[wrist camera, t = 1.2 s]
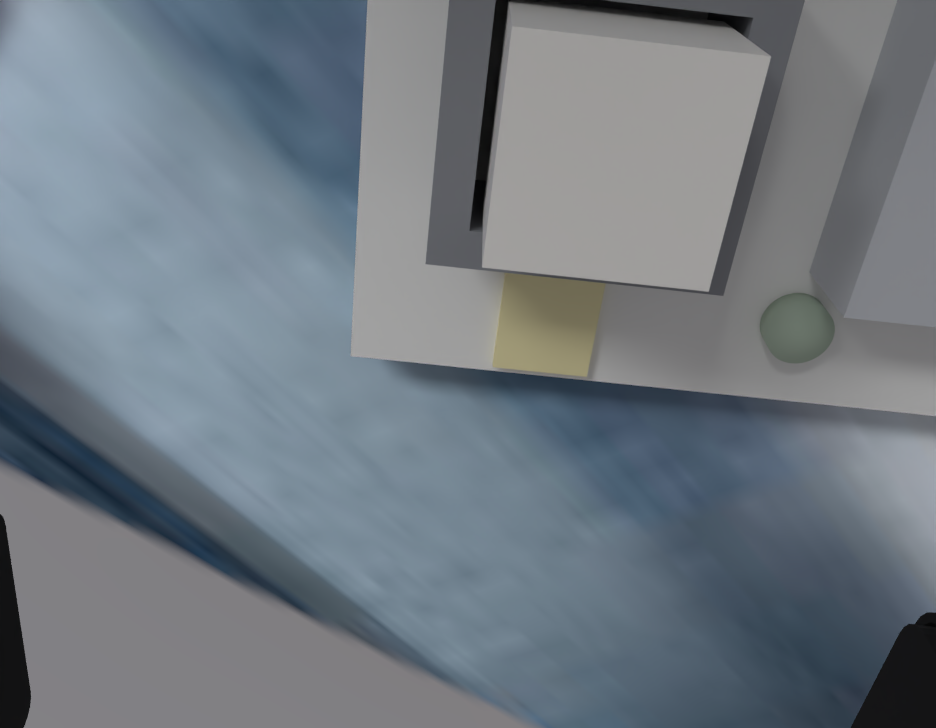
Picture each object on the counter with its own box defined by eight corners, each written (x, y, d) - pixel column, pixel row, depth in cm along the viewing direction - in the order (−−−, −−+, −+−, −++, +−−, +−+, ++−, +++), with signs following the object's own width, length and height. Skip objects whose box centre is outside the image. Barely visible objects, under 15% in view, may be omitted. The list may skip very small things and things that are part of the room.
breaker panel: (393, -343, 21) (362, -405, 16) (1363, -216, 22) (1632, -236, 17) (358, 326, 30) (331, 426, 25) (1050, 398, 31) (1162, 509, 26)
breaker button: (508, -4, 20) (511, 26, 17) (723, 21, 21) (771, 56, 17) (482, 204, 23) (481, 267, 19) (675, 225, 23) (708, 291, 20)
